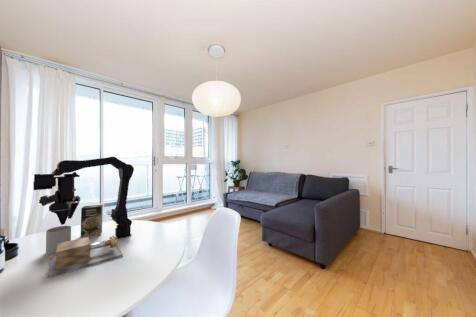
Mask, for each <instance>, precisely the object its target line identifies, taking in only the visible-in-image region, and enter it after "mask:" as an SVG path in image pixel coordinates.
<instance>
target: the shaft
mask: <svg viewBox="0 0 476 317" xmlns="http://www.w3.org/2000/svg"><path fill="white" fill-rule="evenodd" d="M115 243H116V236H115V235H112V236H109V239H107V240H104V241H97V242H94V243H90V250H93V249H97V248H101V247H106V246H110V248H113V247H115Z"/></svg>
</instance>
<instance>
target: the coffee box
mask: <svg viewBox="0 0 476 317" xmlns="http://www.w3.org/2000/svg"><path fill="white" fill-rule="evenodd" d="M103 205H104V204H93V205H84V206H82V207H81V210H80V212H81V213H80V214H81V216H80V239H81V238H85V237H89V238H91V237H98V236H101V235H102V233H103V216H104V215H103V212H104V206H103Z"/></svg>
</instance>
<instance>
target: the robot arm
mask: <svg viewBox="0 0 476 317" xmlns="http://www.w3.org/2000/svg"><path fill="white" fill-rule="evenodd" d="M107 165H111V167H112V166H113V167H114V168H115V169H116V170H118V176H119V185H118V193H117V199H116V206H115V208H112V209H111V214H110V217H111V220H112V221H113V222H115V224H116V227H115V228H114V232H115V233H114V237H115V238H116V239H117V240H119V239H124V238H127V237H131V236H132V234H131V226H132V223H133V221H132V219H130V218H128V209H127V201H128V192H129V187H130V186H129V185H130V181H131V179H132V176H133V174H134V172H135V171H134V170H135V168H134V166H133V165H132V164H128V163H126V162H124V161H122V160H120V159H118V158H117V157H116V156H108V157H102V158H101V157H99V158H92V159H85V160H84V159H83V160H79V159H77V160H76V159H75V160H68V159H67V160H66V159H65V160H60V161H59V162H58V163H57V164H56V168H55V169H54V170H53V171H52V172H50V173H41V174H40V173H35V174H33V176H34V177H33V184H32V185H33V191H41V190H42V191H43V190H52V189H53V188H54V187H56V185H57V190H56V191H55V192H54V194H51V195H48V194H46V195H42V196H40V197H39V200H38V201H39V202H38V203H39V204H41V206H42V207H44V206H46V205H49V204H50V205H49V206H48V212H51V213H52V214H56V216H57V218H58V221H59V223H60V226H64V225H65V224H66V222H67V219H68V220H71V219H72V218H73V216H74V214H75V212H76V210H77V209H78V208H77V207H78V206H79V205H80V202H81V197H80V196H79V195H75V191H77V188H75V178H80V177H81V176H80V174H78V173H77V172H76V171H79V170H82V169H85V168H92V167H100V166H107ZM61 175H62V176H61ZM51 203H52V204H51Z"/></svg>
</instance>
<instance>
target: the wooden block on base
mask: <svg viewBox="0 0 476 317" xmlns="http://www.w3.org/2000/svg"><path fill="white" fill-rule="evenodd" d="M90 244H91V241H90V237H85V238H81V237H80V238H77V239H71V241H66V242H61V243H57V249H56V254H55V256H54V257H50V262H49V267H48V270H47V276H46V278H47V279H50V278H54V277H57V276H60V275H64V274H67V273H70V272H71V273H72V272H75V271H78V270H81V269H85V268H89V267H91V266H95V265H99V264H102V263H105V262H106V263H107V262H109V261H112V260H116V259H119V258H123V256H124V254H123V252H122V250H121V248H120V247H119V245H118V243H117V242H115V247H113V248H110V246H106V247H101V248H97V249H93V250H90Z"/></svg>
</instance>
